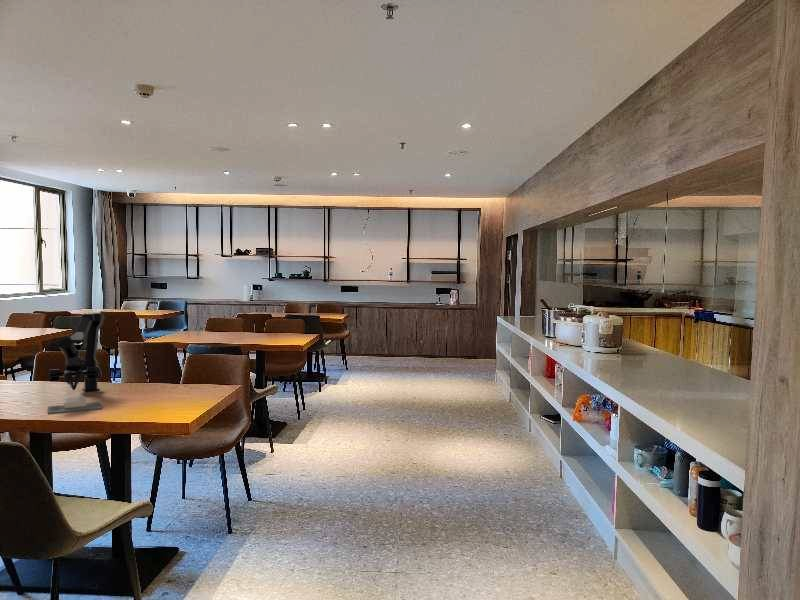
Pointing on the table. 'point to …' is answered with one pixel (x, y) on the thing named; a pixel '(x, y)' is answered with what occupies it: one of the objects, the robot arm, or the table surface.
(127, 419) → the table surface
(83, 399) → the glazed tile
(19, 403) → the table surface
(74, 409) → the mat
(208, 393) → the table surface
